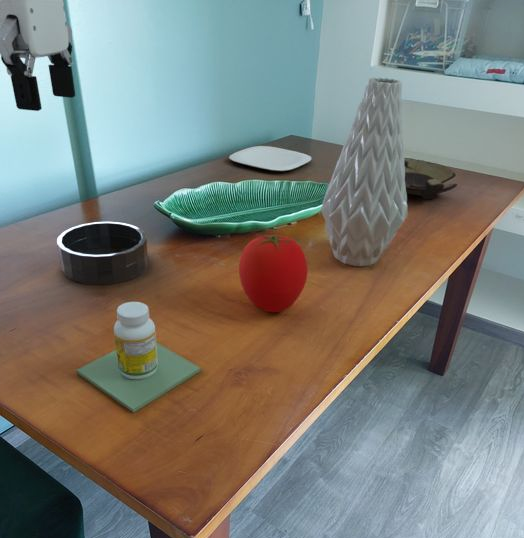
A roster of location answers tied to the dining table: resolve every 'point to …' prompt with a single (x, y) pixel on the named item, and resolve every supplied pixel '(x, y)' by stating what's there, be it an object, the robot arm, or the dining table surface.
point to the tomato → (273, 272)
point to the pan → (103, 253)
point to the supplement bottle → (135, 341)
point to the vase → (369, 179)
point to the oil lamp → (426, 178)
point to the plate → (270, 158)
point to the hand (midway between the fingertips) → (47, 102)
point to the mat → (138, 390)
